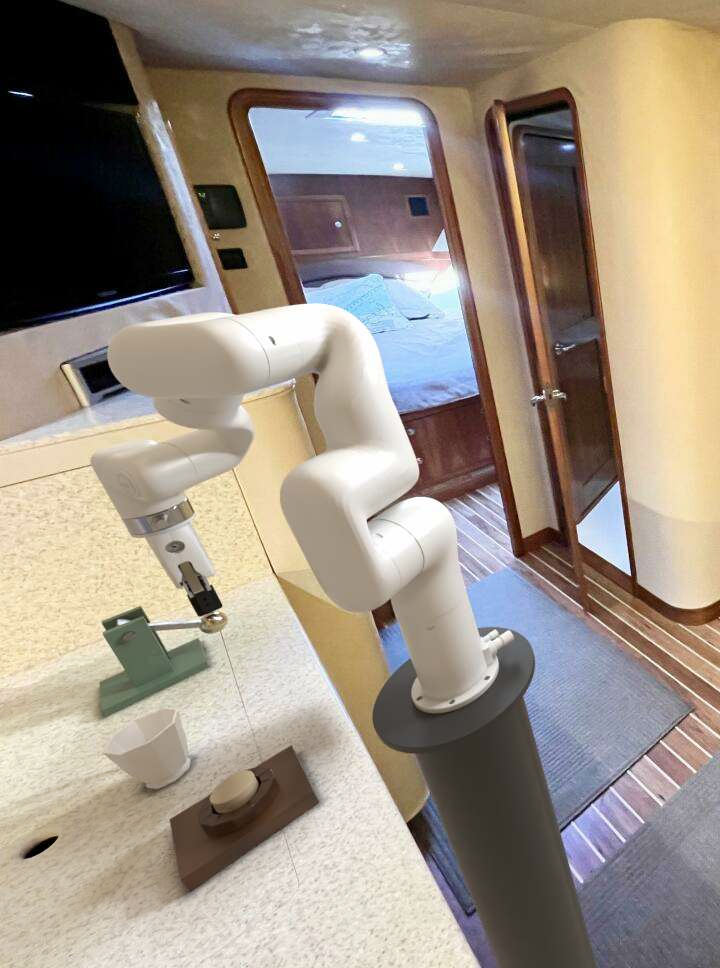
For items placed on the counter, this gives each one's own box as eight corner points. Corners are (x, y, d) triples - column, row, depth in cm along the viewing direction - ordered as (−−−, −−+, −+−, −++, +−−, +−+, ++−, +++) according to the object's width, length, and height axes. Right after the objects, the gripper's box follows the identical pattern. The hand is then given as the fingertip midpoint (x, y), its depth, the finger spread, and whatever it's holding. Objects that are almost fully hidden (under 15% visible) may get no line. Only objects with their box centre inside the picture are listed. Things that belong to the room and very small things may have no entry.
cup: (141, 810, 66) (109, 765, 63) (118, 773, 71) (88, 730, 68) (212, 763, 72) (186, 719, 69) (186, 731, 77) (161, 689, 74)
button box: (297, 755, 72) (287, 734, 70) (319, 802, 65) (308, 780, 64) (177, 831, 63) (162, 809, 62) (189, 892, 57) (172, 869, 56)
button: (255, 773, 66) (249, 763, 65) (262, 793, 63) (256, 783, 63) (213, 799, 63) (206, 789, 62) (219, 821, 60) (212, 811, 60)
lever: (222, 627, 94) (228, 607, 94) (226, 636, 91) (232, 615, 91) (110, 636, 83) (117, 613, 83) (111, 646, 81) (119, 623, 81)
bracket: (201, 642, 94) (171, 588, 90) (209, 666, 88) (178, 609, 84) (102, 687, 86) (64, 629, 81) (105, 716, 80) (64, 656, 76)
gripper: (198, 519, 82) (247, 615, 88) (186, 494, 91) (230, 583, 98) (129, 543, 76) (186, 642, 83) (123, 514, 86) (175, 605, 92)
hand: (210, 610), depth 90 cm, fingers closed
